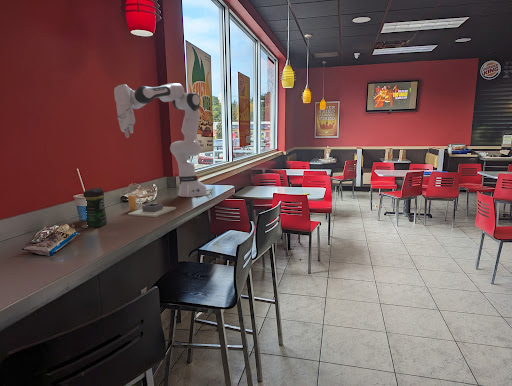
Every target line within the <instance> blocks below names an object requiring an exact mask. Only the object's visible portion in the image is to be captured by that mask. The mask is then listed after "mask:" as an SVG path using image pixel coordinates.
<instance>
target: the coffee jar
mask: <svg viewBox="0 0 512 386" xmlns="http://www.w3.org/2000/svg"><path fill="white" fill-rule="evenodd" d="M82 194H83V196H82V198H83V197H85V198H86V201H87V206H86V209H85V220H86V219H87V225H88V228H91V229H92V228H93V229H94V228H97V227H99V228H100V227H103V226H104V225H106V224H107V223H108V220H107V213H106V208H105V193H104V189H102V188H101V187H99V188H98V187H94V188H90V189H87V190H84V191H83V193H82ZM86 211H87V212H86ZM86 213H87V215H86ZM86 216H87V218H86ZM87 225H86V226H87Z"/></svg>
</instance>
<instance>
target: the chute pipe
mask: <svg viewBox="0 0 512 386" xmlns="http://www.w3.org/2000/svg"><path fill="white" fill-rule="evenodd" d="M136 197H137V196H136V195H135V194H131V195H130V194H129V195H128V196H127V198H128V209H129V212H134V211H137V210H138V208H137V199H136Z"/></svg>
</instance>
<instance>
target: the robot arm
mask: <svg viewBox="0 0 512 386" xmlns="http://www.w3.org/2000/svg"><path fill="white" fill-rule="evenodd" d="M113 89H114V91H113V94H114V101H115V104H116V113H117V114H116V119H117V120H118V125H119V129H120V131H121V133H124V135H125V138H130V134H133V133H134V125H135V124H136V117H135V113H134V110H139V109H142V108H143V107H144V106H146V105H147V104H149V103H151V102H152V101H153V100H154V99H157V98H158V99H159V100H160V101H161V102H163V103H168V102H169V103H170V102H172V106H173V107H174V109H176V110H178V111H184V116H183V121H182V126H181V133H182V134H183V140H177V141H176V140H175V141H174V142H172V143H171V144H170V147H169V149H170V153H171V154H172V155H173V156H174V158H175V160H176V162H177V165H178V167H177V168H178V184H179V188H178V189H179V190H178V197H186V198H193V197H201V196H209V195H211V192H210V191H208V190H207V187H206V185H205V184H204V183H203V182H201V181H200V180H199V179H200V176H198V175H196V170H195V168H196V167H195V164H194V163H193V162H192V160H191V158H190V157H196V156H199V155H200V153H201V151H202V147H201V144H200V142H199V141H198V132H199V131H198V130H199V126H200V120H201V112H200V106H201V98H200V96H199V94H198V93H196V92H185V88H184V86H183V85H182V84H181V83H177V82H175V83H174V82H172V83H166V84H162V85H160V86H146V85H140V86H138V87H137V88H136V89H135V90H133V89H132V88H130V87H129V86H128V85H127V84H125V83H121V84H118V85H116V86H115V87H114V88H113Z"/></svg>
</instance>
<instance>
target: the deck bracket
mask: <svg viewBox="0 0 512 386" xmlns="http://www.w3.org/2000/svg"><path fill="white" fill-rule="evenodd" d="M141 207H142V208H141V209H137V211H130V212H128V213H127V215H128V216H134V217H135V216H137V217H147V218H148V217H150V218H157V217H159V216H161V215H164V214H167V213H169V212H172V211H174V210H176V209H177V207H176V206H164V205H163V203H153V202H152V203H148V204H144V205H143V206H141Z"/></svg>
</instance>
